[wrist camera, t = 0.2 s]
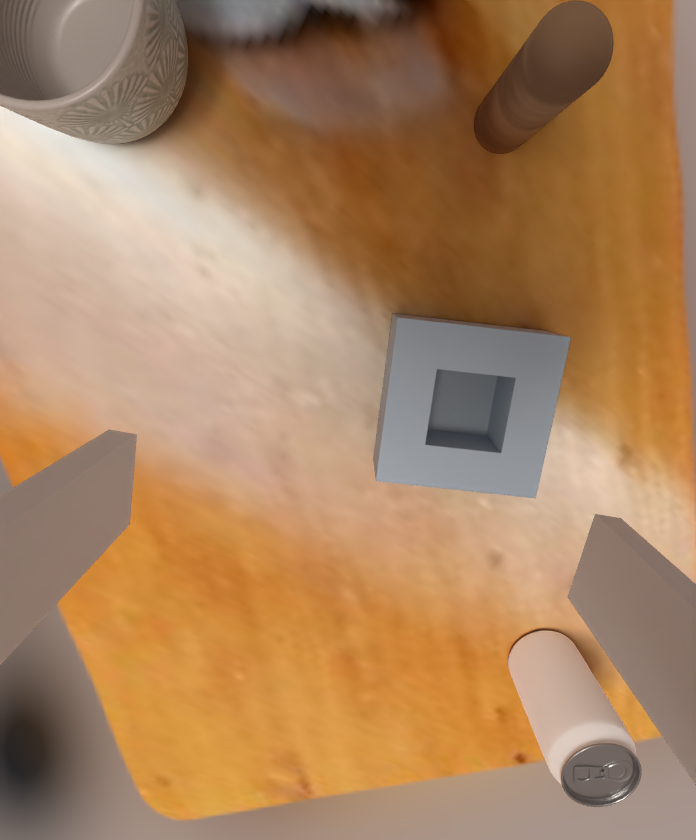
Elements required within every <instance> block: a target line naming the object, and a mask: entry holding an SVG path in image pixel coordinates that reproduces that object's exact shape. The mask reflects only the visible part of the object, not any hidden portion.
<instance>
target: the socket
mask: <svg viewBox="0 0 696 840" xmlns="http://www.w3.org/2000/svg"><path fill="white" fill-rule="evenodd" d="M570 340H571V337H568V336H564V335H560V334H556V333H552V332H548V331H543V330H534V329H525V328H516V327H508V326H499V325H490V324H481V323H473V322H464V321H455V320H446V319H437V318H429V317H420V316H411V315H402V314H393V313H392V319H391V327H390V335H389V342H388V350H387V358H386V365H385V373H384V381H383V388H382V396H381V404H380V411H379V419H378V427H377V434H376V442H375V450H374V457H373V461H374V469H375V478H376V481H379V482H388V483H397V484H407V485H416V486H425V487H435V488H444V489H453V490H463V491H472V492H481V493H491V494H500V495H509V496H519V497H528V498H536V494H537V490H538V485H539V481H540V476H541V472H542V467H543V462H544V458H545V453H546V449H547V444H548V440H549V435H550V431H551V426H552V422H553V417H554V413H555V408H556V403H557V399H558V394H559V390H560V385H561V381H562V376H563V372H564V367H565V363H566V358H567V353H568V349H569V344H570Z"/></svg>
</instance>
